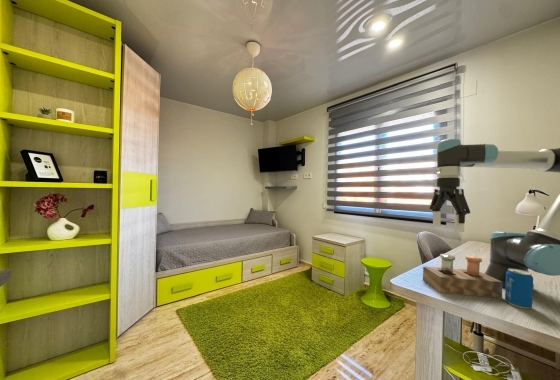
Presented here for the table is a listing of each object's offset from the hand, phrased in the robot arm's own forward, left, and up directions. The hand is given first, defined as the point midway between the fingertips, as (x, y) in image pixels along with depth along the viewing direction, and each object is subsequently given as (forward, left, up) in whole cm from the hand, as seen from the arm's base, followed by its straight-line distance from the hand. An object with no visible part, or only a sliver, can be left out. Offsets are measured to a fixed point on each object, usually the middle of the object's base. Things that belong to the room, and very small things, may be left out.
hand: (447, 228), depth 89 cm
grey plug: (-1, 0, -18) cm, 18 cm away
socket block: (-6, 0, -24) cm, 25 cm away
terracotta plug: (-11, 0, -18) cm, 21 cm away
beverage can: (-18, +11, -25) cm, 32 cm away
